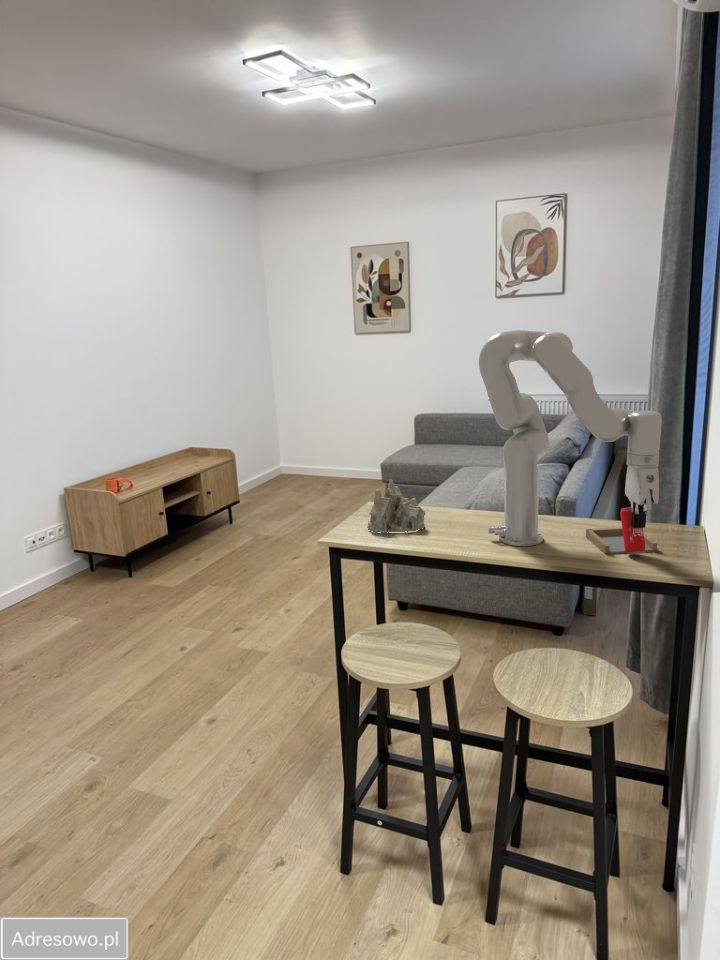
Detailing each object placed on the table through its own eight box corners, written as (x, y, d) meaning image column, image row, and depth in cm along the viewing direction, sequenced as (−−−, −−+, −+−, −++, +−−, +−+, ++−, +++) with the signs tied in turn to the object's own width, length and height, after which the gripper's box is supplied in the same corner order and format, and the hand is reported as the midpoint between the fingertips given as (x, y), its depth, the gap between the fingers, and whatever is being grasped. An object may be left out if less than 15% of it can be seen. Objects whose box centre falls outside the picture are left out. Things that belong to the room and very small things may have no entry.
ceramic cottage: (360, 527, 206) (361, 482, 202) (398, 518, 216) (400, 475, 212) (392, 542, 195) (394, 495, 191) (431, 531, 205) (434, 486, 200)
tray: (604, 554, 176) (605, 545, 175) (585, 537, 189) (586, 529, 189) (656, 551, 176) (657, 543, 175) (633, 534, 189) (634, 526, 189)
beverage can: (640, 553, 175) (635, 509, 178) (649, 551, 170) (643, 506, 172) (622, 553, 175) (616, 510, 177) (630, 552, 170) (624, 507, 172)
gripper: (671, 465, 159) (665, 536, 163) (644, 452, 173) (639, 517, 178) (641, 466, 158) (636, 537, 163) (616, 453, 173) (612, 519, 178)
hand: (638, 527), depth 170 cm, fingers closed
